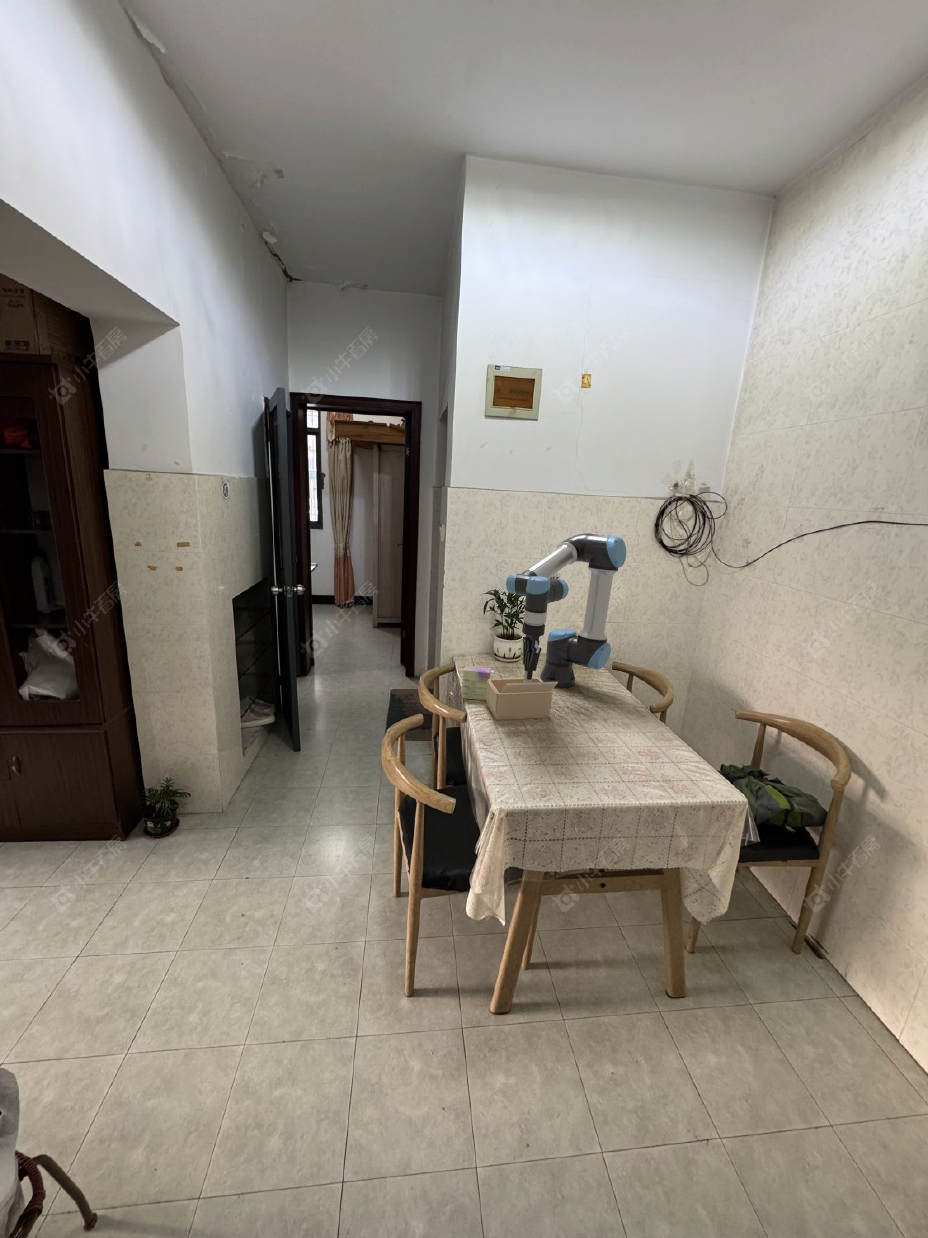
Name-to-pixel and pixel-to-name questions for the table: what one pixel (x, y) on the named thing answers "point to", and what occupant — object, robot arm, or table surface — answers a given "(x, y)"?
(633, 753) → the table surface
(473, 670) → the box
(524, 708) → the carton
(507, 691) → the flap
